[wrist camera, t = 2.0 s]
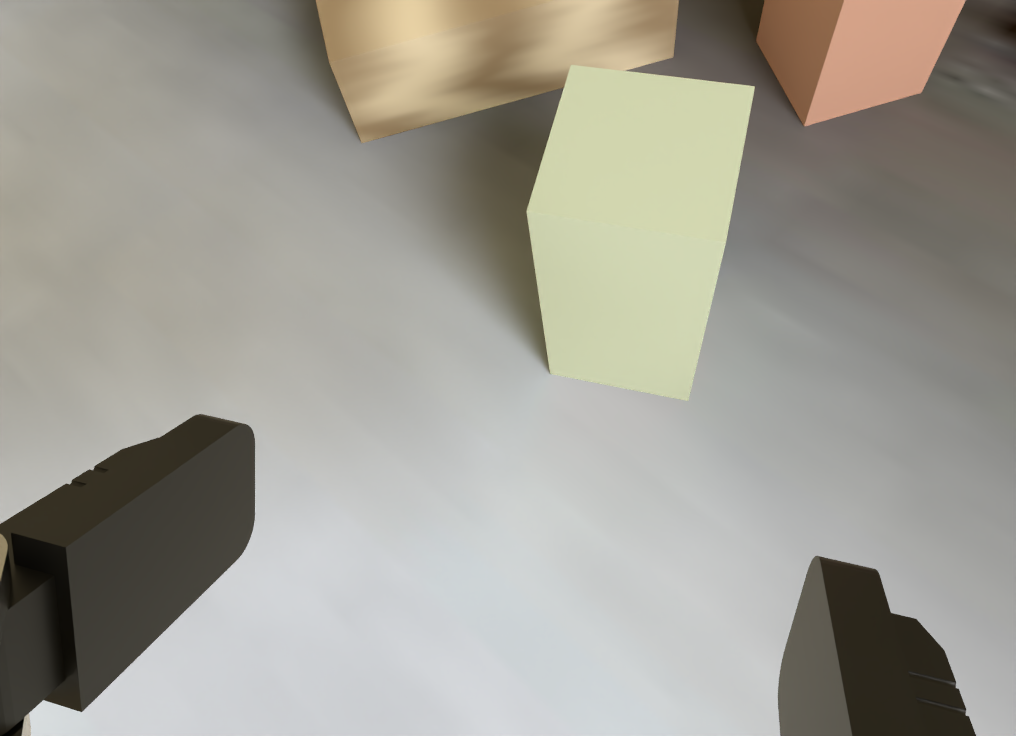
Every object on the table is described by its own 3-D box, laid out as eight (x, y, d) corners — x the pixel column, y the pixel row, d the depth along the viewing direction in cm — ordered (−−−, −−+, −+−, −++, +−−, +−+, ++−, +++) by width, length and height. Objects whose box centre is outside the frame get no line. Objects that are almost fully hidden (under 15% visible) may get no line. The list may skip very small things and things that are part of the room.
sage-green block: (711, 280, 31) (755, 86, 22) (688, 400, 29) (725, 242, 20) (580, 259, 32) (570, 64, 23) (550, 373, 30) (526, 211, 21)
